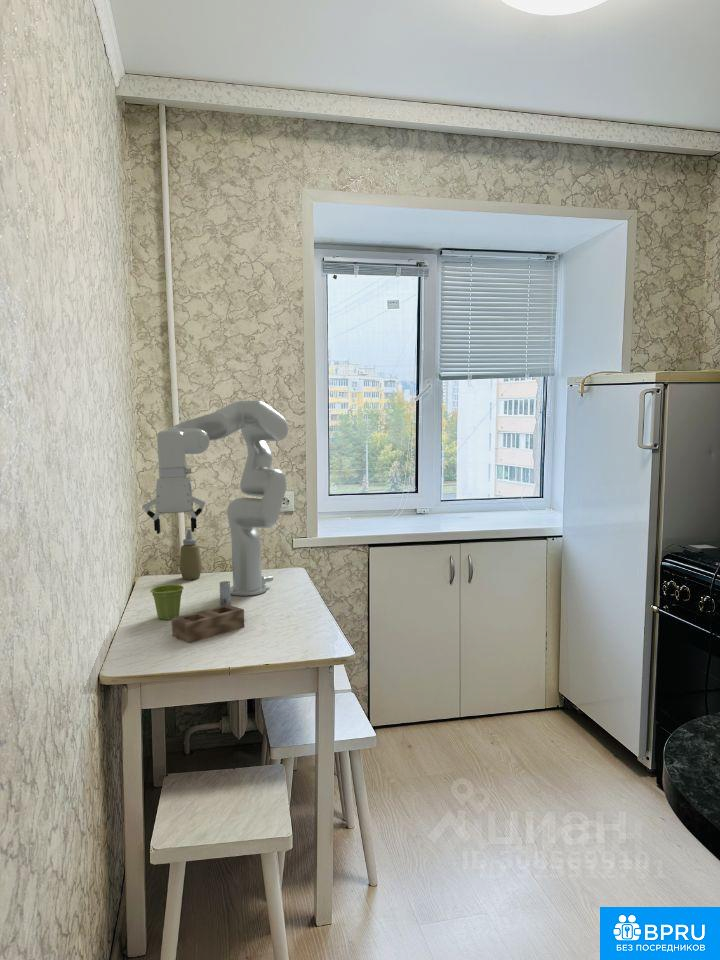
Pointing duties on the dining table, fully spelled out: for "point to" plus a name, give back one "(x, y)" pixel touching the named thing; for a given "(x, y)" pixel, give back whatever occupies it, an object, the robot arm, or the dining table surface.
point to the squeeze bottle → (190, 558)
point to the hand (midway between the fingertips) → (175, 532)
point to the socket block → (207, 623)
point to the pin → (225, 593)
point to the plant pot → (167, 600)
